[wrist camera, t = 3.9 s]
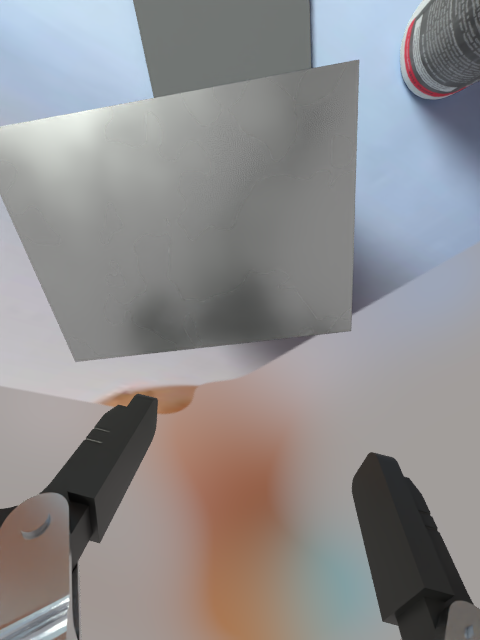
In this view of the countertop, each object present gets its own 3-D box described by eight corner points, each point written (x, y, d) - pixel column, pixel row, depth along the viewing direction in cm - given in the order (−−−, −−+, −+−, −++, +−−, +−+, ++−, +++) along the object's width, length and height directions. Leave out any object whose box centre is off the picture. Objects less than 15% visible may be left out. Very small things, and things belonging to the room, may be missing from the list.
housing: (139, 174, 19) (-32, 123, 7) (286, 149, 18) (359, 49, 7) (166, 279, 22) (76, 363, 10) (293, 262, 21) (351, 332, 10)
